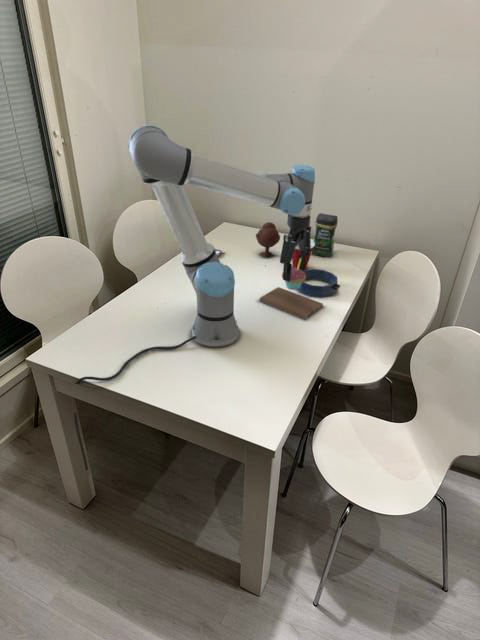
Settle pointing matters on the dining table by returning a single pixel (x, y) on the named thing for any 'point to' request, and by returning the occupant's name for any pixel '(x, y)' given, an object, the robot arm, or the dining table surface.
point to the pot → (319, 290)
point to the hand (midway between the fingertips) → (293, 275)
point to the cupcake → (295, 278)
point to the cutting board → (291, 303)
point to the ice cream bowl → (267, 238)
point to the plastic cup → (297, 252)
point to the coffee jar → (324, 235)
